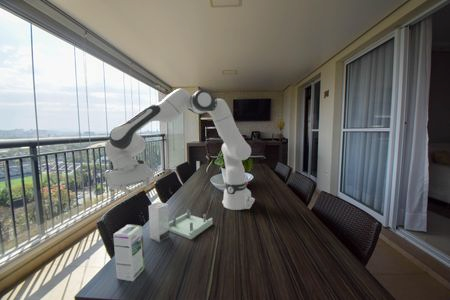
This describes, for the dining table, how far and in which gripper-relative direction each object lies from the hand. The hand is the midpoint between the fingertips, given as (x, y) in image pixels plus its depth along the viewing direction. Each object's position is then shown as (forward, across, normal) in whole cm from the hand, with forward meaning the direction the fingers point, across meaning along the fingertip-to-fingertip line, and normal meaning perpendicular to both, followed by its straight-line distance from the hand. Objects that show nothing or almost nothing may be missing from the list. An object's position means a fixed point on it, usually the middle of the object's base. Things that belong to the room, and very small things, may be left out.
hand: (139, 191), depth 82 cm
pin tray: (+25, +13, 0) cm, 28 cm away
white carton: (+21, 0, +4) cm, 22 cm away
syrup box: (+28, -18, -2) cm, 33 cm away
